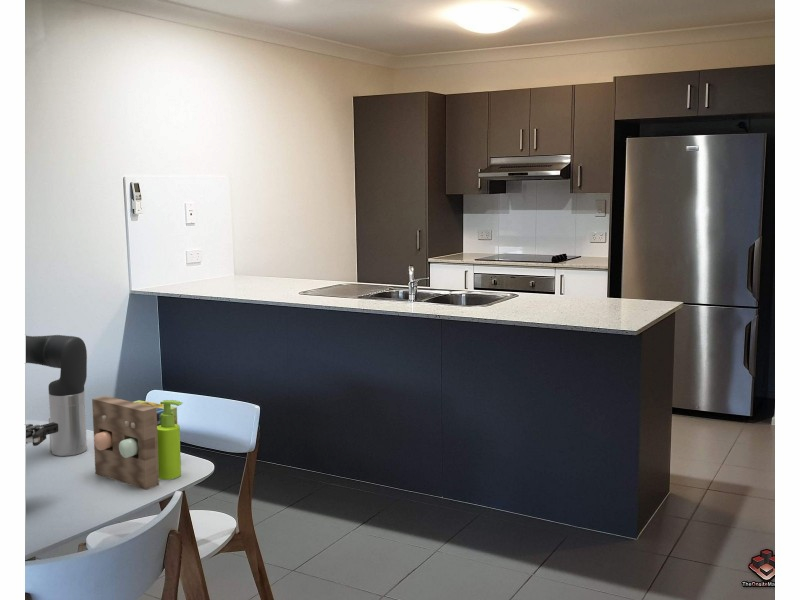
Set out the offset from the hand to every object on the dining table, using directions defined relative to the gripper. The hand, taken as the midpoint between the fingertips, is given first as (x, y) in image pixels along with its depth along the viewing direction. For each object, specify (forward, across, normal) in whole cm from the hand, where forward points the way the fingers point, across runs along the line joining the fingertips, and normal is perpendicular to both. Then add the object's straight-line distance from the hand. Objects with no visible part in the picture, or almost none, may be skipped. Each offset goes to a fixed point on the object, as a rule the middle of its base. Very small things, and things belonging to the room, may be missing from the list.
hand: (56, 426), depth 184 cm
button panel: (+16, -5, +17) cm, 23 cm away
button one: (+13, 0, +9) cm, 16 cm away
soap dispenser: (+24, -12, +17) cm, 32 cm away
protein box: (+27, +2, +17) cm, 32 cm away
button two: (+13, -10, +9) cm, 19 cm away
